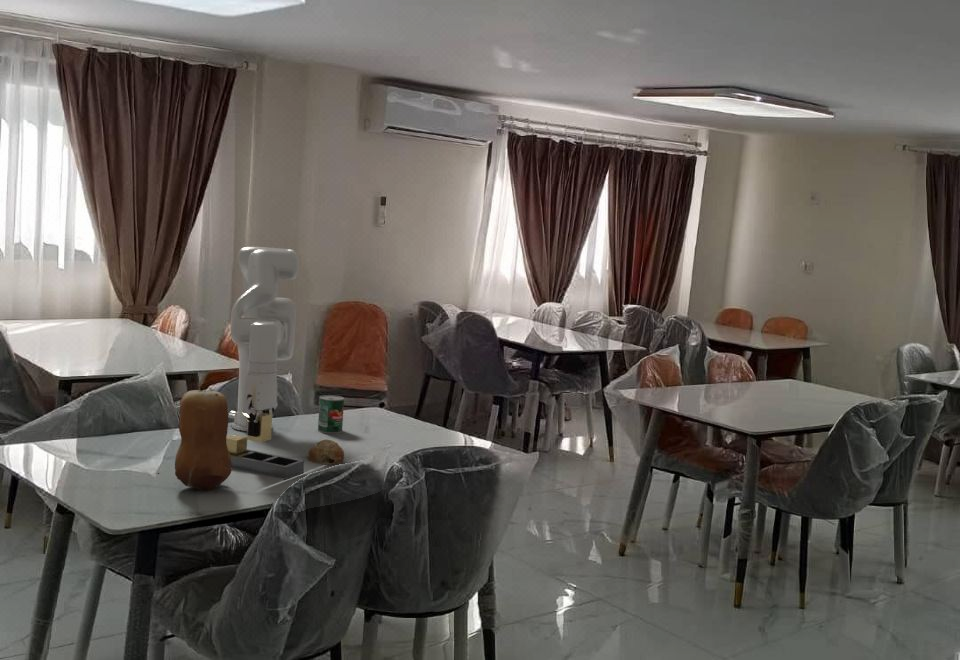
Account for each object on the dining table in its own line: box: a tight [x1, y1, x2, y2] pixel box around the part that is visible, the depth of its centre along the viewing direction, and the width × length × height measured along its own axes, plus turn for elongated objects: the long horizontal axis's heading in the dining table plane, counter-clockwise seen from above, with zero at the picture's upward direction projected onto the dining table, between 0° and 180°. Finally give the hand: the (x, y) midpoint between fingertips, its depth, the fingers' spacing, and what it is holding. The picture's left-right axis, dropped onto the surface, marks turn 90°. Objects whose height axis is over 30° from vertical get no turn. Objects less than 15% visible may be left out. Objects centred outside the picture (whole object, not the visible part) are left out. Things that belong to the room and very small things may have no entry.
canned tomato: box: [317, 394, 345, 434], centre depth 316 cm, size 8×8×11 cm
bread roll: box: [307, 439, 345, 466], centre depth 280 cm, size 10×10×8 cm
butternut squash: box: [174, 389, 232, 491], centre depth 244 cm, size 14×13×25 cm
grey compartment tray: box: [230, 448, 305, 481], centre depth 267 cm, size 24×8×4 cm, turn 66°
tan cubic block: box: [246, 412, 273, 443], centre depth 265 cm, size 4×4×7 cm
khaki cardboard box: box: [226, 434, 248, 456], centre depth 269 cm, size 4×4×7 cm
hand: (259, 433), depth 265 cm, fingers closed on tan cubic block, 4 cm apart
